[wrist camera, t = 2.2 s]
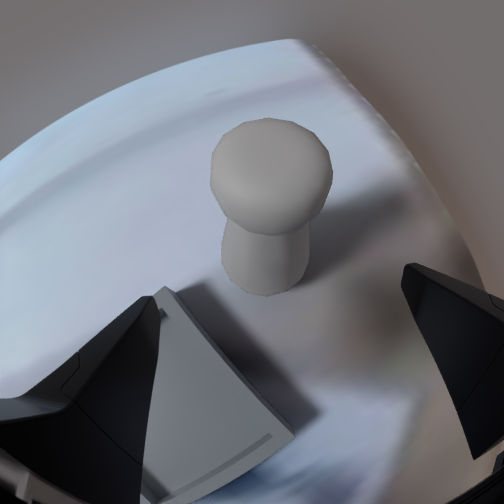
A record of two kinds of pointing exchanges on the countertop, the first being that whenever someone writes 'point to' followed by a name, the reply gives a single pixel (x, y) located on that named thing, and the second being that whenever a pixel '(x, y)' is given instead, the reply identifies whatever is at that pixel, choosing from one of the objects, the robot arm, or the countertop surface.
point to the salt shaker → (269, 201)
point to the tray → (201, 414)
